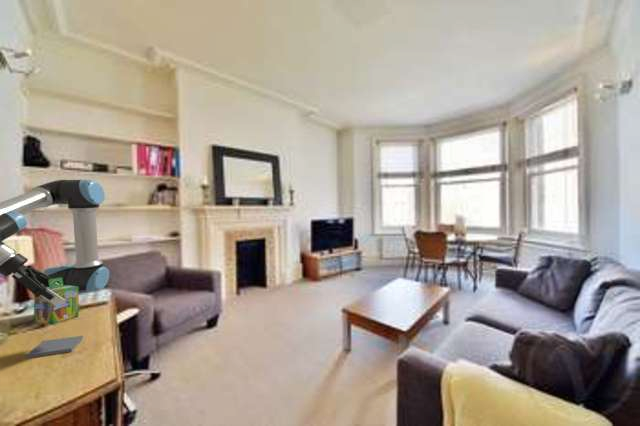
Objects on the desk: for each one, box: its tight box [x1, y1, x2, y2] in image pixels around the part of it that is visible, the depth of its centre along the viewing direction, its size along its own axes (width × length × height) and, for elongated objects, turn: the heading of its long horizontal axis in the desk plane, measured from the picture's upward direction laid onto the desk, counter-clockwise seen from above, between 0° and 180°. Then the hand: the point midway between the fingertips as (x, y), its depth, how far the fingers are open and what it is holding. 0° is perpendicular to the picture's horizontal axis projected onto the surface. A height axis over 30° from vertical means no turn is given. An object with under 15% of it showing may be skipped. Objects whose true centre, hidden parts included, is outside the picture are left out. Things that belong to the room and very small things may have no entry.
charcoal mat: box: [26, 335, 84, 359], centre depth 108 cm, size 12×12×1 cm
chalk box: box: [33, 278, 80, 326], centre depth 107 cm, size 9×9×15 cm
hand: (65, 299), depth 109 cm, fingers closed on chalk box, 12 cm apart
